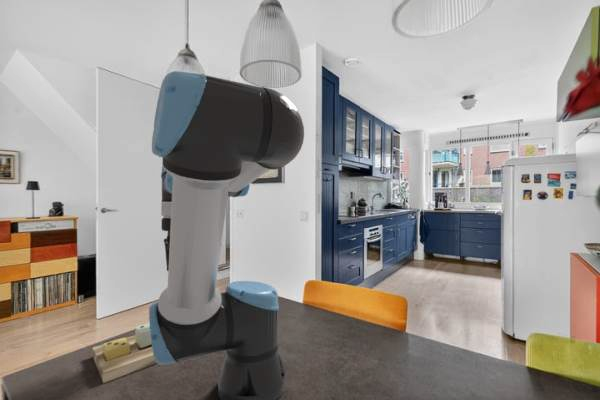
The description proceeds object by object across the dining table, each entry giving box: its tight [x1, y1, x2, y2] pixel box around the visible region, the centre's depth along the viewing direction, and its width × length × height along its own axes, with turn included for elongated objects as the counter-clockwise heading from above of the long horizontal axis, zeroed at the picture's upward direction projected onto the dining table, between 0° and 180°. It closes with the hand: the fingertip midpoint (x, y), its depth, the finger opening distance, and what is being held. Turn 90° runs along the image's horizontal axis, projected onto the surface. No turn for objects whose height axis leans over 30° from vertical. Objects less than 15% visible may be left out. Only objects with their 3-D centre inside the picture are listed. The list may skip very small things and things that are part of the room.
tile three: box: [102, 337, 130, 362], centre depth 74 cm, size 5×5×4 cm
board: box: [92, 334, 158, 384], centre depth 79 cm, size 15×23×2 cm, turn 134°
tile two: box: [134, 322, 152, 348], centre depth 79 cm, size 5×5×4 cm
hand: (175, 296), depth 84 cm, fingers closed
